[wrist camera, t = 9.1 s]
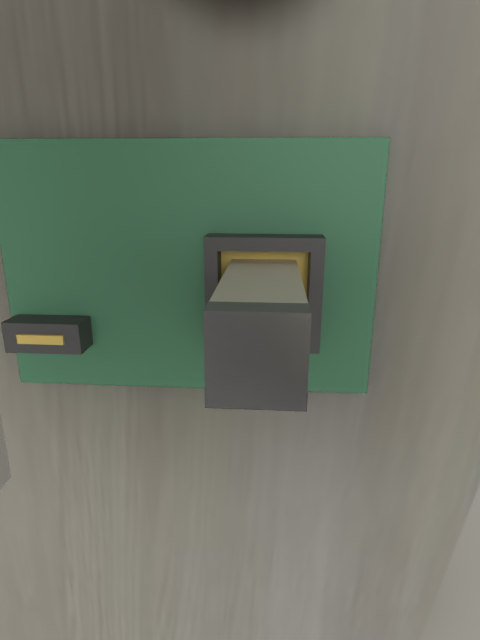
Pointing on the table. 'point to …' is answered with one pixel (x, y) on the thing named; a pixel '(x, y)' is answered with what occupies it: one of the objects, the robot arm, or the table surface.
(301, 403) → the plug
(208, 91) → the table surface
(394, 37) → the table surface
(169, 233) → the board
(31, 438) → the table surface
